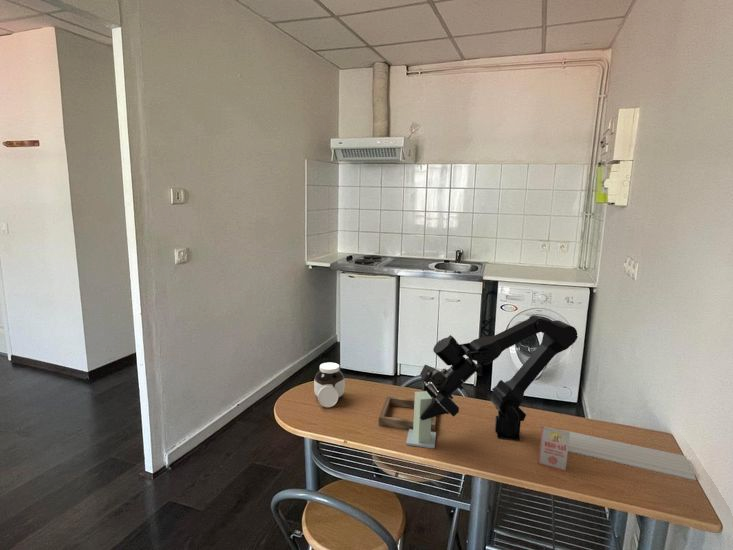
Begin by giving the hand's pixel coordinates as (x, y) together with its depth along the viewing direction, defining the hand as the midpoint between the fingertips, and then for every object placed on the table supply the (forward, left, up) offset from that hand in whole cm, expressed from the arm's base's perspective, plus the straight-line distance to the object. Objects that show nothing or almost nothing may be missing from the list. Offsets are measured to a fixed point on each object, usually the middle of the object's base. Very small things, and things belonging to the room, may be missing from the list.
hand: (417, 413), depth 125 cm
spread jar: (+32, -18, -8) cm, 37 cm away
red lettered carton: (-36, +3, -8) cm, 37 cm away
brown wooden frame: (+4, -13, -8) cm, 16 cm away
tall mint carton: (-1, -1, -7) cm, 8 cm away
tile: (-1, -1, -8) cm, 8 cm away
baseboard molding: (-57, -6, -9) cm, 58 cm away
